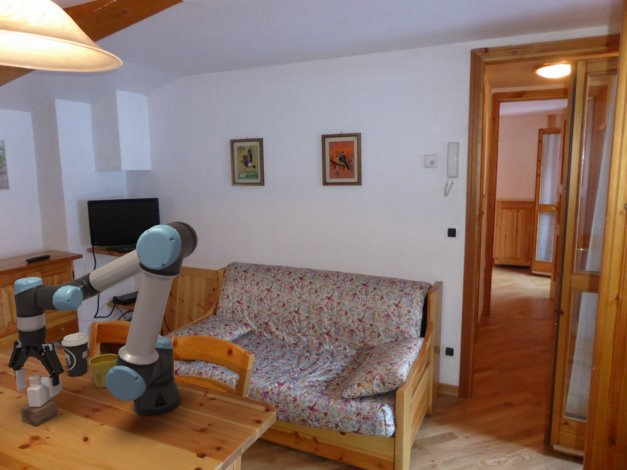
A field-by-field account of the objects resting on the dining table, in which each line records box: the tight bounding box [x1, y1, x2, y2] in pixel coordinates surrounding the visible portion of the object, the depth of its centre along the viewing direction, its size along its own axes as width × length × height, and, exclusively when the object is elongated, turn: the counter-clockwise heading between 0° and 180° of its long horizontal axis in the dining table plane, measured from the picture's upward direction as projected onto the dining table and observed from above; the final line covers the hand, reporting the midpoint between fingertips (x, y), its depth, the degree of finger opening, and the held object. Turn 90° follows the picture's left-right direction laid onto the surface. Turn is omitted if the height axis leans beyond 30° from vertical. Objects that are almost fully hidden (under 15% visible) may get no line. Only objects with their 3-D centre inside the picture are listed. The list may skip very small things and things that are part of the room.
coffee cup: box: [61, 332, 90, 378], centre depth 177 cm, size 10×10×15 cm
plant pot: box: [87, 353, 118, 389], centre depth 168 cm, size 10×10×10 cm
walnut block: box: [20, 399, 59, 428], centre depth 144 cm, size 7×7×5 cm
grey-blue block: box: [28, 376, 63, 400], centre depth 160 cm, size 7×7×5 cm
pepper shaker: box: [26, 374, 48, 407], centre depth 143 cm, size 4×4×10 cm
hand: (38, 392), depth 144 cm, fingers open, 13 cm apart
